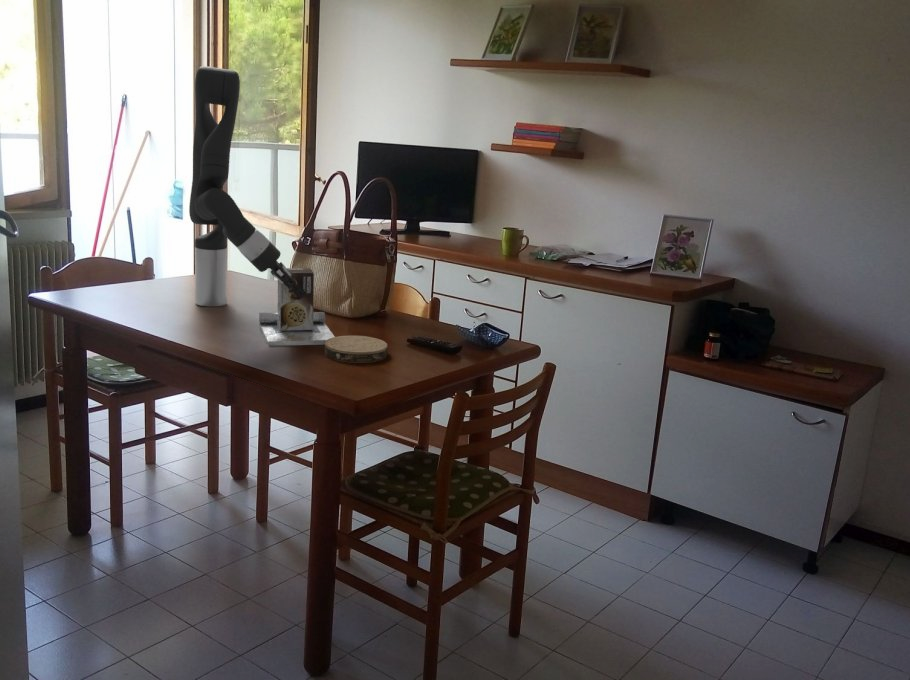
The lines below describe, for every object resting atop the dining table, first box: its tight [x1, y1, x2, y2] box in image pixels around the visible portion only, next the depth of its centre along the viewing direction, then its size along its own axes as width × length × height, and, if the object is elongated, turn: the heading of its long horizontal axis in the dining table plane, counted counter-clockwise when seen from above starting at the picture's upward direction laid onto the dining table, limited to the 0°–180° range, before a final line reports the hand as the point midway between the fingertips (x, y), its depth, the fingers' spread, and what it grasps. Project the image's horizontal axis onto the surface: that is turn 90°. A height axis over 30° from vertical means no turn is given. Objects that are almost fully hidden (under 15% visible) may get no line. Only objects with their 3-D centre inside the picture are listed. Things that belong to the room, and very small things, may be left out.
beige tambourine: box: [324, 335, 388, 364], centre depth 213 cm, size 16×16×3 cm
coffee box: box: [277, 267, 315, 331], centre depth 226 cm, size 9×6×16 cm
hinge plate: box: [258, 311, 336, 347], centre depth 226 cm, size 20×18×4 cm
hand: (301, 292), depth 226 cm, fingers open, 8 cm apart
